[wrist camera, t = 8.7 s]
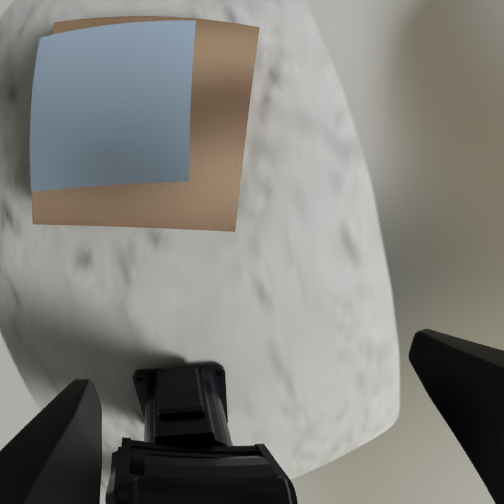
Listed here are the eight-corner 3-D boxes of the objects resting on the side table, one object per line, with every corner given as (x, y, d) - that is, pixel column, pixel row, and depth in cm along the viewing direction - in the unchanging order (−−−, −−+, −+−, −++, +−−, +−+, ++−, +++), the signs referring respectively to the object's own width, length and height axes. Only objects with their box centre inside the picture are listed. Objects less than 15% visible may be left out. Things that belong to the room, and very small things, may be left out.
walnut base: (223, 214, 19) (235, 231, 15) (59, 208, 16) (32, 224, 12) (242, 50, 16) (259, 27, 12) (76, 44, 13) (54, 22, 9)
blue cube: (185, 171, 13) (188, 181, 9) (77, 177, 12) (31, 192, 8) (188, 63, 12) (195, 20, 7) (80, 71, 11) (39, 37, 6)
